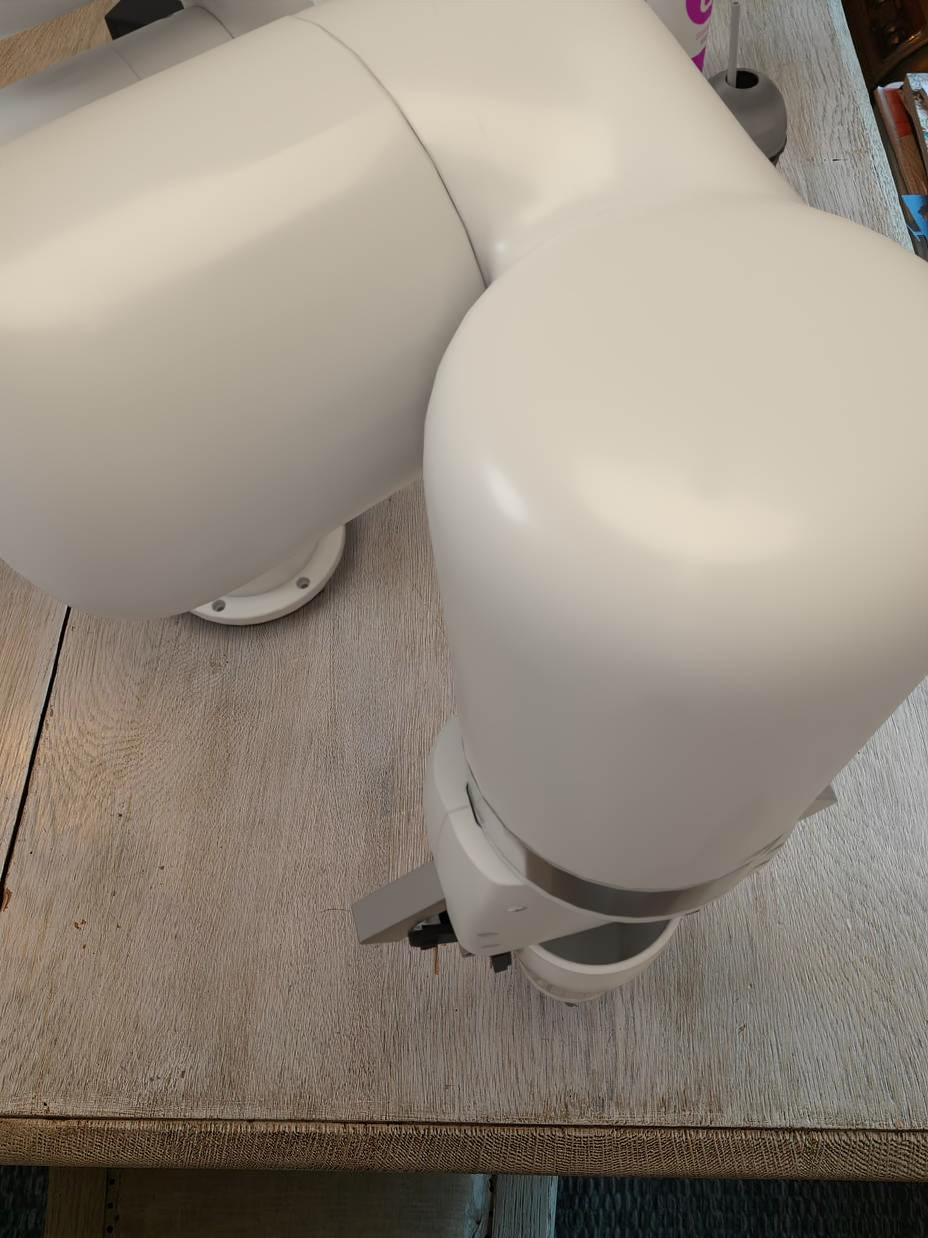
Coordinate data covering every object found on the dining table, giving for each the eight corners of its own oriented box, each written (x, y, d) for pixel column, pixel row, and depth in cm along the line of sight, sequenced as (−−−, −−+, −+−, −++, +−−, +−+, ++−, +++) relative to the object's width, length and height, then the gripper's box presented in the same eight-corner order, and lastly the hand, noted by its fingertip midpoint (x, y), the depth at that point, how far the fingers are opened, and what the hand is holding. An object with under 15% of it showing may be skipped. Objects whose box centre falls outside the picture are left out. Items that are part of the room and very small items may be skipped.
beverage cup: (750, 311, 72) (818, 42, 54) (652, 302, 73) (688, 35, 55) (755, 245, 75) (822, -29, 58) (662, 237, 76) (699, -33, 59)
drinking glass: (632, 872, 48) (676, 774, 34) (650, 1018, 45) (705, 972, 31) (497, 878, 48) (489, 783, 35) (504, 1024, 45) (498, 981, 31)
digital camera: (254, 76, 91) (234, -1, 84) (226, 110, 88) (203, 33, 82) (161, 58, 93) (135, -18, 87) (132, 91, 91) (103, 15, 85)
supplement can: (713, 86, 85) (745, -107, 72) (671, 139, 82) (697, -53, 69) (631, 63, 88) (648, -128, 75) (588, 113, 85) (597, -77, 71)
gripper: (902, 513, 24) (751, 755, 40) (227, 697, 23) (347, 873, 38) (1070, 788, 21) (832, 934, 36) (284, 1026, 19) (390, 1071, 35)
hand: (583, 902), depth 37 cm, fingers closed on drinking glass, 6 cm apart
